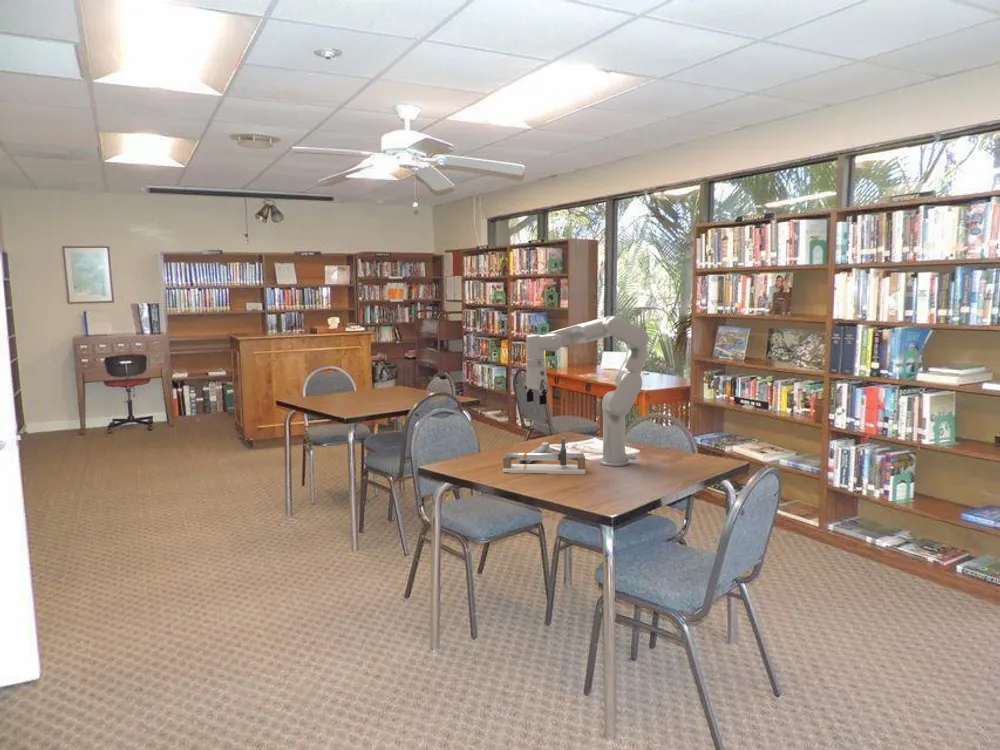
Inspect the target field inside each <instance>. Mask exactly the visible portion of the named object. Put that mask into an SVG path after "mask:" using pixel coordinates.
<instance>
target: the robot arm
mask: <svg viewBox="0 0 1000 750" xmlns="http://www.w3.org/2000/svg"><path fill="white" fill-rule="evenodd" d="M609 337H613V338H615V339H616V340H619V341H620V342H622V343H624V344H625V345H626V350H627V352H626V356H625V358H624V361H623V362H622V363H621V364H622V365H621V366H620V369H619V370H618V372H617V374H616V376H615V378H614V383H615V386H616V389H615V390H610V391H608V392H606V393H605V394H604V395H603V398H602V400H601V401H602V402H601V408H602V420H603V421H602V425H603V426H602V458H600V459H599V460H598V461H599V464H601V465H603V466H608V467H620V466H622V467H623V466H626V465H628V464H629V463H630V461H629V460H632V461H633V460H637V455H635V454H628V453H626V415H627V414H628V413H629V412H630V411H631V408H632V407H633V406H634V403H635V402H636V400H637V398H638V395H639V394H640V392H641V390H642V386H643V379H642V376H641V375H640V374H641V373H642V371H643V368H644V366H645V364H646V361H647V358H648V349H647V348H648V347H647V345H648V343H649V339H650V338H649V337H650V336H649V335H648V333H647V332H646V331H645V330H644V329H642V328H641V327H639V326H637V325H635V324H633V323H631V322H629V321H627V320H626V319H624V318H622V317H620V316H617V315H607V316H604V317H600V318H596V319H593V320H589V321H585V322H582V323H579V324H575V325H571V326H567V327H565V328H560V329H556V330H554V331H553V330H552V331H550V332H546V333H545V334H539V333H534V334H533V333H532V334H527V336H526V338H525V343H526V344H525V346H526V370H525V371H526V372H525V375H526V376H525V381H523V384H524V390H525V394H526V402H527V403H530V402H534V392H533V391H538V392H539V396H538V397H539V405H547V395H548V393H549V388H550V385H549V384H548V376H547V369H546V367H545V351H546V352H547V351H548V352H557V351H559V350H560V349H561V348H562V347H565V346H567V345H574V344H575V345H576V344H587V343H590V342H594V341H597V340H601V339H605V338H609Z"/></svg>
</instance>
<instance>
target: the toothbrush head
mask: <svg viewBox="0 0 1000 750" xmlns="http://www.w3.org/2000/svg"><path fill="white" fill-rule="evenodd" d="M529 453H552V448H551V447H550V443H549V442H547V441H544V442H541V445H540V446H538V447H536V448H535V449H533V450H532V451H530V452H529ZM518 461H519V464H529V463H530V464H531V463H532V462H533V461H534V460H518Z"/></svg>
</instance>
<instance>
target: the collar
mask: <svg viewBox="0 0 1000 750" xmlns="http://www.w3.org/2000/svg"><path fill="white" fill-rule="evenodd" d="M560 439H561V443H560V444H561V445H560V452H559V453H560V460H559V463H560V464H559V465H560V466H566V465H567V461H566V453H567V448H566V436H561V437H560Z"/></svg>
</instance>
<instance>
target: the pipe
mask: <svg viewBox="0 0 1000 750" xmlns="http://www.w3.org/2000/svg"><path fill="white" fill-rule="evenodd" d="M504 455H505V457H511V461H519V460H533V461H560V452H559V453H558V452H557V453H556V452H554V453H553V452H551V453H530V452H504ZM584 456H585V454H584V453H583V452H582V453H581V452H580V453H579V452H577V453H575V452H574V453H571V452H569V453H567V452H566V462H569V461H577V462H578V458H584Z"/></svg>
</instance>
